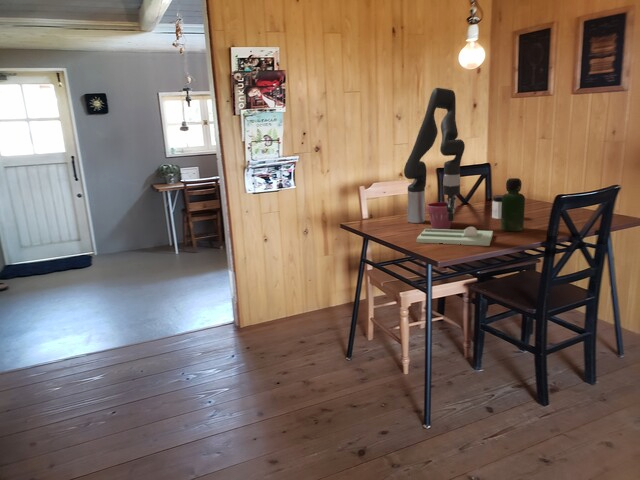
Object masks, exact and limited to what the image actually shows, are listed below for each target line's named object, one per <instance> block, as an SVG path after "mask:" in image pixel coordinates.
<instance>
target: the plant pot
mask: <svg viewBox="0 0 640 480" xmlns="http://www.w3.org/2000/svg"><path fill="white" fill-rule="evenodd" d="M446 204H447V202H446V201H441V202H439V201H438V202H437V201H436V202H430V203H428V204H426V212H427V213H428V217H429V220H430V221H429V222H430V225H431V229H449V230H451V227H452V222H453V221H448V213H447V206H446ZM455 212H456V210H455V211H454V213H455Z"/></svg>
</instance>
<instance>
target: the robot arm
mask: <svg viewBox="0 0 640 480" xmlns="http://www.w3.org/2000/svg"><path fill="white" fill-rule="evenodd" d="M456 103H457V102H456V93H455V91H454V90H452V89H447V88H442V87H435V88H434V89H433V90H432V92H431V94H430V96H429V100H428V105H427V108H426V112H425V114H424V117H423V121H422V123H421V125H420V129H419V131H418V134H417V137H416V140H415V143H414V145H413V147H412V149H411V152H410V155H409V157H408V159H407V161H406V162H405V165H404V169H403V174H404V177H405V178H406V179H407V180H413V182H411V184H409V185H407V205H406V222H407V223H413V224H419V223H425V222H426V209H425V208H426V207H425V206H426V203H425V202H426V194H425V193H426V185H427V167H426V166H427V165H426V163H425V162H424V161H422V160H421V159H422V158H423V157H424V156H425V155H426V154H427V153H428V152H429V151H430V149H431V148H432V147H433V146H434V144H435V141H436V138H437V136H438V133H439V132H438V127H437V122H436V119H435V111H436V109H443V110H446V111H447V113H446V114H445V116H444V117H443V118H442V120H441V123H440V132H441V143H440V149H439V152H440V153H441V155H442V156H444V157H449V156H454V158H453V159H451V160H447V161H445V162H444V163H443V180H442V181H443V182H442V184H443V185H442V194H443V195H445V196H447V198H446V201H445V202H447V204H446V206H447V213H448V221H452V222H453V221H454V220H455V217H454V216H455V214H454V213H455V212H456V206H457V205H456V204H457V198H456V196H459V195H460V194H461V162H462V159H463V158H462V157H463V156H464V155H463V154H464V152H465V147H466V145H465V144H466V143H465V142H464V141H463V139H460V138H459V139H457V138H458V136H459V132H458V126H457V120H456V116H457V115H456V114H457V113H456V108H457V107H456V105H457V104H456ZM454 211H455V212H454Z"/></svg>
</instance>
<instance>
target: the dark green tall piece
mask: <svg viewBox="0 0 640 480" xmlns="http://www.w3.org/2000/svg"><path fill="white" fill-rule="evenodd" d="M505 189H506V192H507V193H505V194H502V195H503V196H502V207H501V219H500V229H501V230H502V231H505V232H521V231H524V228H525V226H524V225H525V205H526V198H525V196H524V194H522V193H520V192H521V190H522V179H520V178H517V177H515V178H514V177H513V178H512V177H511V178H508V179H507V180H506V183H505Z"/></svg>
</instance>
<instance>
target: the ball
mask: <svg viewBox="0 0 640 480" xmlns="http://www.w3.org/2000/svg"><path fill="white" fill-rule="evenodd" d="M463 230H464V236H465V237H475V238H476V236H477V228H476V227H474V226H468V227H466V228H465V229H463Z"/></svg>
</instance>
